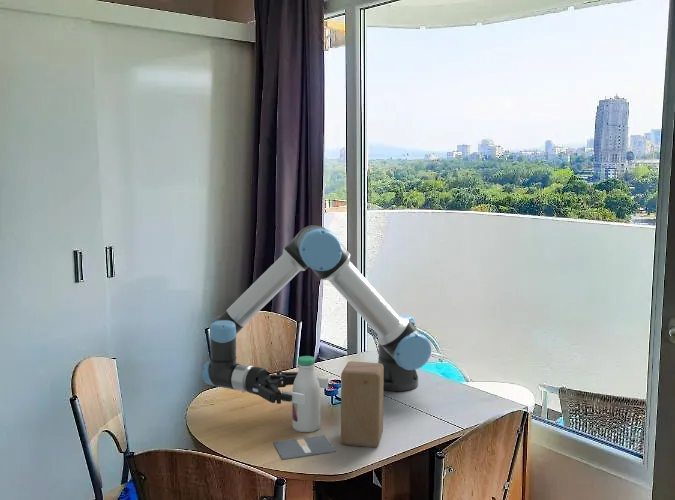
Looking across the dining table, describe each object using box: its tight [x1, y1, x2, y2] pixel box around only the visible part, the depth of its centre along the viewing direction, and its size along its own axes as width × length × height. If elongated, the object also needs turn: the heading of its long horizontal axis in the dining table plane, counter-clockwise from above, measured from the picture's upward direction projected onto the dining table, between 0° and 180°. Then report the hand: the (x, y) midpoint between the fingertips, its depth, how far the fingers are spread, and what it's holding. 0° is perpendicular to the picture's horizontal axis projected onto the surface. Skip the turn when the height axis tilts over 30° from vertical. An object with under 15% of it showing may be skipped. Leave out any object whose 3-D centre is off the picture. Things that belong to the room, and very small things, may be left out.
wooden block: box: [340, 360, 384, 448], centre depth 168 cm, size 10×10×20 cm
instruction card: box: [272, 434, 337, 461], centre depth 164 cm, size 14×10×1 cm
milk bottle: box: [291, 355, 321, 433], centre depth 175 cm, size 8×8×20 cm
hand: (316, 391), depth 174 cm, fingers open, 13 cm apart
